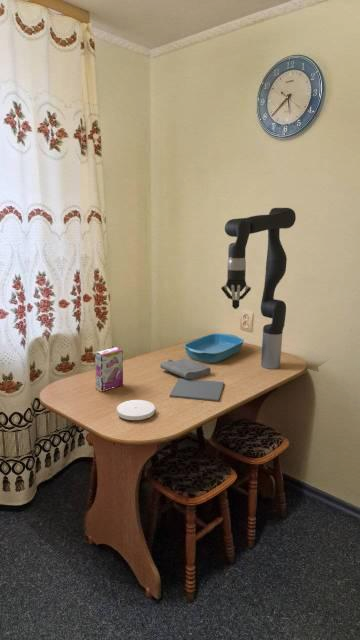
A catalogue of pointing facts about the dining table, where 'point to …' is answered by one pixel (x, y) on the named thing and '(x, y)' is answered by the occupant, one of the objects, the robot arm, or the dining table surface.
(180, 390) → the mat
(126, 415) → the plastic lid
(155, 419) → the dining table surface
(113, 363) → the candy bar box
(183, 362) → the hip flask
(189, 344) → the casserole dish
